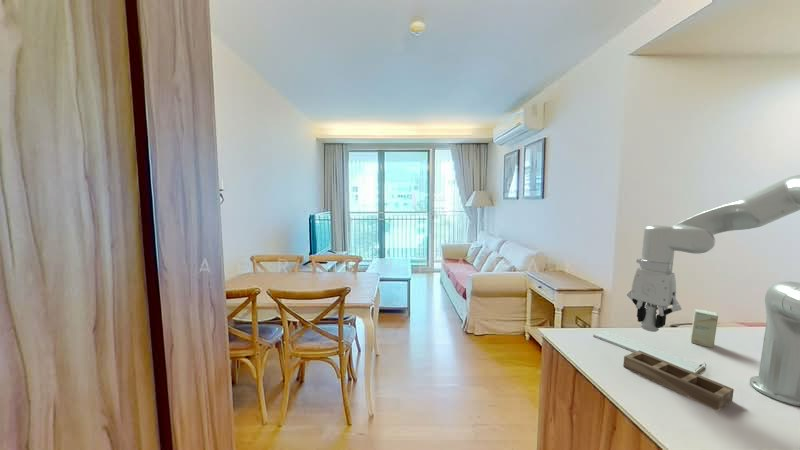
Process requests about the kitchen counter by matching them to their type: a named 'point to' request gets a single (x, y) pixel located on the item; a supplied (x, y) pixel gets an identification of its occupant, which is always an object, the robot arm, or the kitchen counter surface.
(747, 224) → the robot arm
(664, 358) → the baseboard
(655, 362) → the rack
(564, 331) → the kitchen counter surface
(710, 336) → the skincare box
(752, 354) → the kitchen counter surface
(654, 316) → the rook chess piece
